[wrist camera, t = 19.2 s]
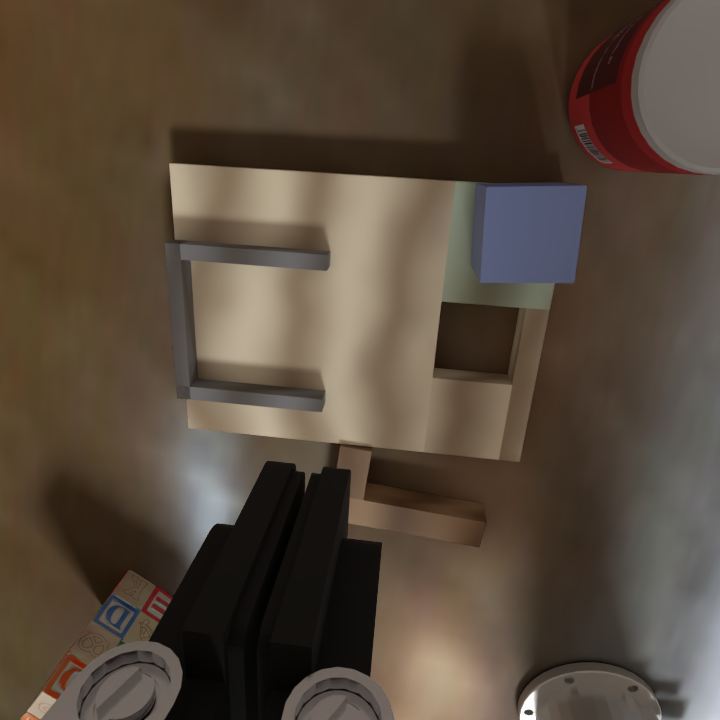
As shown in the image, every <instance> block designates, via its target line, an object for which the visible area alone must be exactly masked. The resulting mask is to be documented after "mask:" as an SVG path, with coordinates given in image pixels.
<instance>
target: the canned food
mask: <svg viewBox="0 0 720 720" xmlns="http://www.w3.org/2000/svg"><path fill="white" fill-rule="evenodd" d="M569 120H570V125H571V130H572V132H573V134H574V137H575V139H576V141H577V143H578V144H579V146H580V147H581V148H582V150H583V151H584V152H585V153H586V154H587V155H588V156H589V157H590V158H592V159H593V160H594V161H596V162H598V163H599V164H601V165H603V166H605V167H609V168H612V169H615V170H623V171H637V172H657V173H677V174H697V175H703V174H709V175H716V174H720V0H663V1H662V2H660V3H659V4H657V5H656V6H654V7H653V8H651V9H650V10H648V11H647V12H645V13H644V14H642V15H641V16H639V17H638V18H636V19H635V20H633V21H632V22H630V23H629V24H627V25H626V26H624V27H623V28H622V29H620V30H619V31H617V32H616V33H614V34H613V35H611V36H610V37H608V38H607V39H605V40H604V41H603V42H602V43H601V44H599V45H598V46H597V47H596V48H595V49H594V50H593V51H592V52H591V53H590V55H589V56H588V57H587V58H586V59H585V60H584V62H583V64H582V66H581V67H580V69H579V71H578V72H577V74H576V77H575V79H574V82H573V85H572V87H571V92H570V97H569Z"/></svg>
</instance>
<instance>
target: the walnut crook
mask: <svg viewBox="0 0 720 720" xmlns="http://www.w3.org/2000/svg"><path fill="white" fill-rule="evenodd" d="M371 454H372V447H368V446H359V445H349V444H340V450H339V456H338V463H337V468H340V469H349V470H351V485H350V501H349V518H348V523H350V524H356V525H361V526H366V527H372V528H377V529H383V530H388V531H393V532H399V533H404V534H410V535H415V536H420V537H426V538H431V539H437V540H442V541H448V542H453V543H458V544H464V545H469V546H475V547H480V544H481V540H482V537H483V533H484V530H485V526H486V518H485V513H484V508H483V504H482V503H477V502H471V501H466V500H460V499H455V498H449V497H444V496H438V495H433V494H427V493H422V492H416V491H411V490H405V489H400V488H394V487H389V486H383V485H378V484H372V483H367V476H368V471H369V465H370V459H371Z"/></svg>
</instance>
